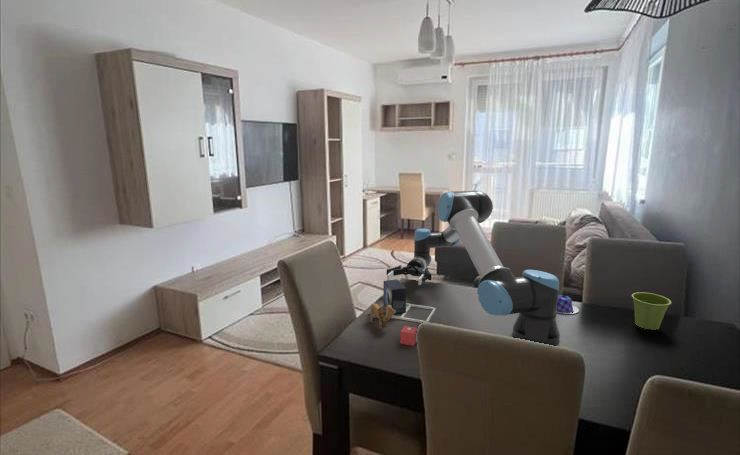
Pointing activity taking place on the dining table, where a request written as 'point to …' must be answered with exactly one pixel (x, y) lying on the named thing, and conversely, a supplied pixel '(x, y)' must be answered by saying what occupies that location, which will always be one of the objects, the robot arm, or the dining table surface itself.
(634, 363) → the dining table surface
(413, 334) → the red block
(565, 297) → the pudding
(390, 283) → the small box
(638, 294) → the plant pot
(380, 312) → the lion figurine
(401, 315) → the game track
